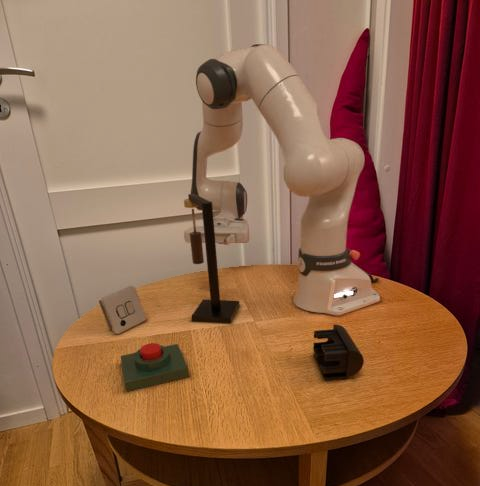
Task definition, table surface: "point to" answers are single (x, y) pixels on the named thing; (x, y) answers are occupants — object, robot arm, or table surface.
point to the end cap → (337, 354)
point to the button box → (153, 368)
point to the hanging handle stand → (211, 271)
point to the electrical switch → (122, 309)
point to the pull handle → (196, 244)
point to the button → (151, 351)
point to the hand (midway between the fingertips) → (210, 242)
